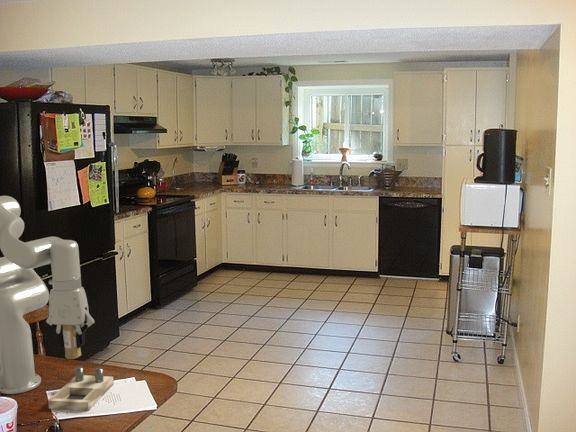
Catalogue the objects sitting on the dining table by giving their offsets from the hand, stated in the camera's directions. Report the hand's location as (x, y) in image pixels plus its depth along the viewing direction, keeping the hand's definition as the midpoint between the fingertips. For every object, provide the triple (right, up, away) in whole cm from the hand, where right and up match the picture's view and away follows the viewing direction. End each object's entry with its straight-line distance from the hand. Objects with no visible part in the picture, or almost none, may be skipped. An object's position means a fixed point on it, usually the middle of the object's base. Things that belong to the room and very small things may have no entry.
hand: (72, 345), depth 177 cm
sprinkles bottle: (0, -4, +1) cm, 4 cm away
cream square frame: (+1, -16, +7) cm, 18 cm away
